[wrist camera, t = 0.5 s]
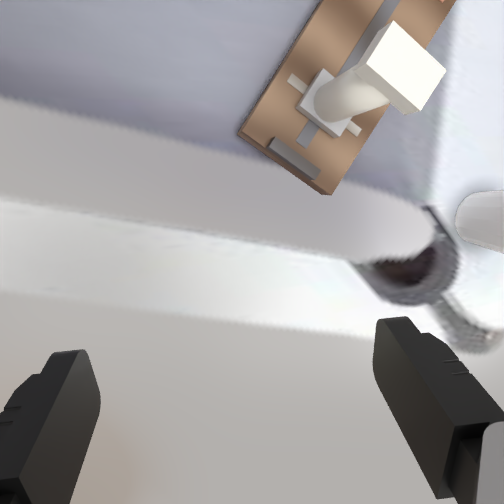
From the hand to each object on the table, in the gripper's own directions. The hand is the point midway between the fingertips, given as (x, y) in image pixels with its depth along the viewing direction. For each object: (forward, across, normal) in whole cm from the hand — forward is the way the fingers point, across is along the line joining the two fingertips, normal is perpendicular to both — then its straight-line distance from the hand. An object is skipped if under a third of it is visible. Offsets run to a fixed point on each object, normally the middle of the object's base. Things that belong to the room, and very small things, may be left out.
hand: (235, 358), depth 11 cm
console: (+31, -14, -8) cm, 35 cm away
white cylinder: (+29, -27, +9) cm, 41 cm away
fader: (+27, -10, -4) cm, 29 cm away
